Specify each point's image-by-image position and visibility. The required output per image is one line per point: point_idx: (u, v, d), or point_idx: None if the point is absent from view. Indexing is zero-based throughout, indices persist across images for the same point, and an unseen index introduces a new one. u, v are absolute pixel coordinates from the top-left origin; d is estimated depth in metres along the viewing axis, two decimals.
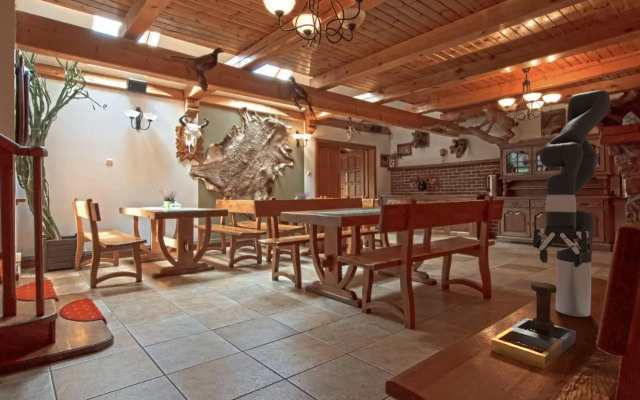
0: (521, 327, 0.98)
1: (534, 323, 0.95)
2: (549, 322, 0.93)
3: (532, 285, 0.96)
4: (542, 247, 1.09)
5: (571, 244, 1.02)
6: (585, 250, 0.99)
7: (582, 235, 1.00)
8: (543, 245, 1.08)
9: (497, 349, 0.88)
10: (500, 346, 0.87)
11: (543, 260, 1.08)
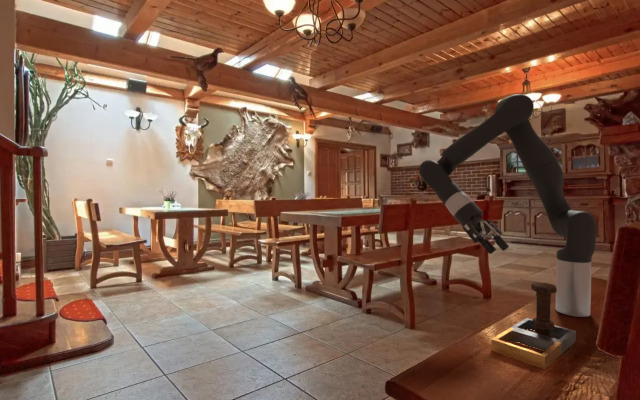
0: (521, 327, 0.98)
1: (534, 323, 0.95)
2: (549, 322, 0.93)
3: (532, 285, 0.96)
4: None
5: None
6: None
7: None
8: None
9: (497, 349, 0.88)
10: (500, 346, 0.87)
11: None
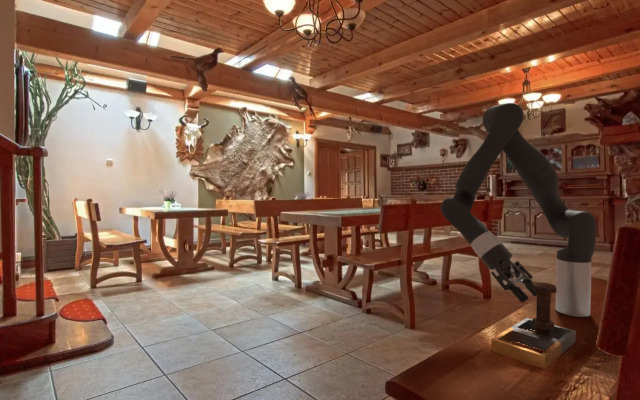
0: (521, 327, 0.98)
1: (534, 323, 0.95)
2: (549, 322, 0.93)
3: (532, 285, 0.96)
4: None
5: None
6: None
7: None
8: None
9: (497, 349, 0.88)
10: (500, 346, 0.87)
11: (533, 294, 1.01)
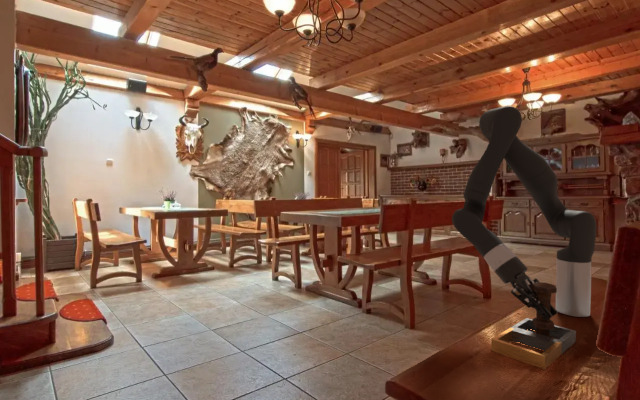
0: (521, 327, 0.98)
1: (534, 323, 0.95)
2: (549, 322, 0.93)
3: (532, 285, 0.96)
4: None
5: None
6: None
7: None
8: None
9: (497, 349, 0.88)
10: (500, 346, 0.87)
11: None
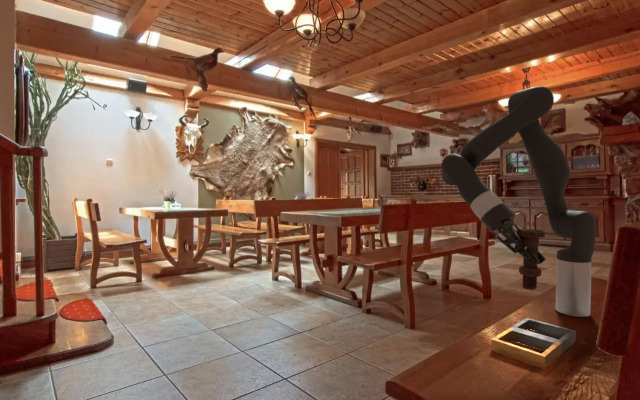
0: (521, 327, 0.98)
1: (520, 271, 0.90)
2: (536, 269, 0.88)
3: (519, 231, 0.91)
4: None
5: None
6: None
7: None
8: None
9: (497, 349, 0.88)
10: (500, 346, 0.87)
11: None
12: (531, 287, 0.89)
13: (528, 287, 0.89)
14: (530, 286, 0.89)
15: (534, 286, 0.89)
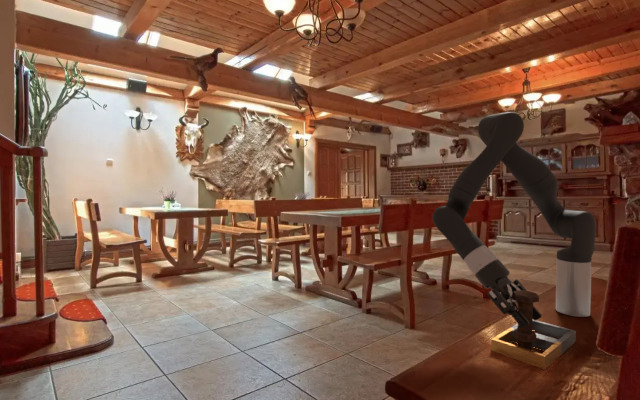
0: None
1: (515, 334, 0.88)
2: (531, 334, 0.86)
3: (513, 293, 0.89)
4: None
5: None
6: None
7: None
8: None
9: (497, 349, 0.88)
10: (500, 346, 0.87)
11: (533, 318, 0.90)
12: None
13: None
14: None
15: None
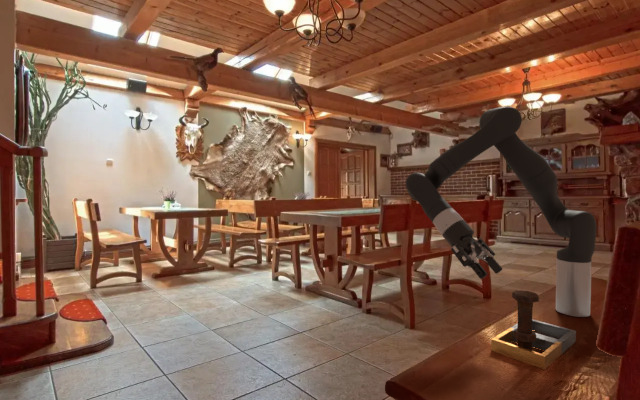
0: None
1: (515, 334, 0.88)
2: (531, 333, 0.86)
3: (513, 293, 0.89)
4: None
5: None
6: None
7: None
8: None
9: (497, 349, 0.88)
10: (500, 346, 0.87)
11: (494, 271, 0.97)
12: None
13: None
14: None
15: None
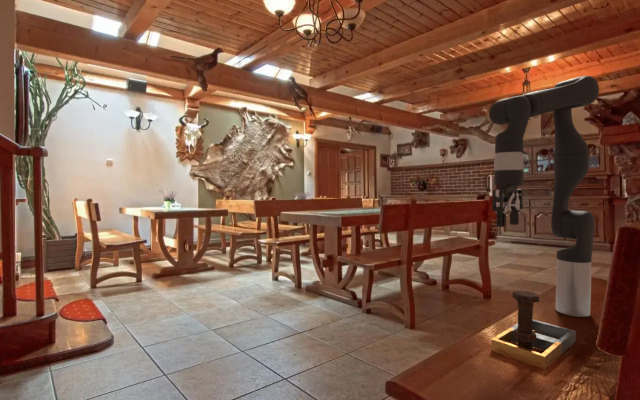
0: None
1: (515, 334, 0.88)
2: (531, 334, 0.86)
3: (513, 293, 0.89)
4: None
5: None
6: None
7: None
8: None
9: (497, 349, 0.88)
10: (500, 346, 0.87)
11: (510, 221, 1.05)
12: None
13: None
14: None
15: None
